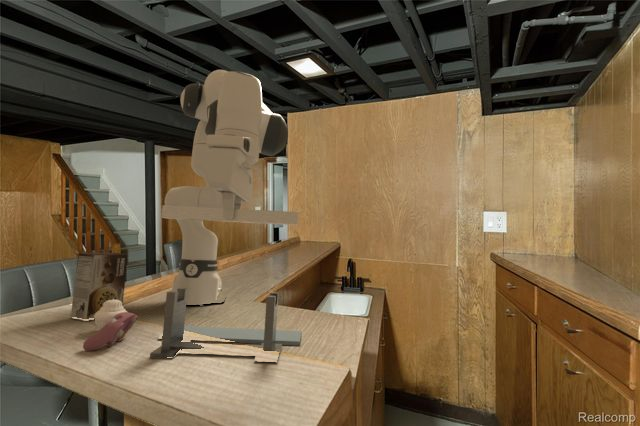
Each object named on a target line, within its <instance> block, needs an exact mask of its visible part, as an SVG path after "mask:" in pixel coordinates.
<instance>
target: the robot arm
mask: <svg viewBox="0 0 640 426" xmlns="http://www.w3.org/2000/svg"><path fill="white" fill-rule="evenodd" d="M179 101H180V105H181V109H182V110H181V111H182V112H183V113H184V115H185V116H187V117H190V118H192V119H197V120H200V121H198V124H197V126H196V130H195V133H194V136H193V145H192V153H191V162H190V166H191V169H192V171H193V172H194V173H195V174H196V175H197V176H199V177H201V178H203V179H205V186H195V185H193V186H192V185H184V186H177V187H172V188H170V189H169V190H168V191H167V193H166V194H165V197H164V205H170V206H189V207H209V208H223V209H224V210H223V218H225V219H234V215H235V210H234V209H243V204H245V203H246V204H250V203H252V200H253V192H254V191H253V188H254V187H253V186H254V185H253V184H254V172H253V170H252V166H253V165H256V164H258V162H259V161H260V160H259V159H260V154H261V155H264V156H268V157H273V156H276V155H277V154H279V153H280V152H282V151H283V150H284V149H285V147H286V145H287V142H288V138H289V127H288V125H287V123H286V121H285V119H284V118H283V116H282V115H281V114H279V113H275V112H274V113H273V112H272V111H271V109H270V108H269V107H268V106H267V105H266V104H265V103H264V102H263V92H262V85H261V81H260V80H259V79H258V78H257V77H256V76H254V75H252V74H249V73H246V72H243V71H238V70H236V71H235V70H234V71H233V70H230V71H227V70H225V69H216V70H213V71H212V72H210V73H209V74H208V75H207V76H206V78H205V81H204V84H202V83H200V81H196V83H190V84H188V85H186V86H185V87H184V89H183V91H182V92H181V95H180V100H179ZM175 220H176V222H177V223H178V226H179V227H180V231H181V236H182V245H181V247H182V248H181V258H180V259H179V264H178V270H179V271H178V273H177V274H176V275H174V277H173V281H172V288H171V291H176V292H177V289H178V288H188V291H187V301H186V305H195V304H202V303H206V302H210V301H213V300H217V296H218V294H219V292H221V293H222V290H223V288H222V284H223V283H222V282H223V281H222V279H221V277H220V275H219V273H218V268H219V267H218V266H219V262H220V261H219V260H218V259H217V255H218V245H219V239H218V236H217V234H216V233H215V232H213V231H212V230H210V229H208V228H206V227H205V225H204V220H184V219H175Z"/></svg>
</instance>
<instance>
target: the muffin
mask: <svg viewBox="0 0 640 426" xmlns="http://www.w3.org/2000/svg"><path fill="white" fill-rule="evenodd" d="M122 312H127V310H126V309H125V308H124V306H122V302H121V301H120V300H114V299H112V300H108V301H106V302H104V303H103V307H101V308H100V310H99V311H97V312H96V313H95V315H94V319H95V320H94V323H95V325H96V327H97V329H98V331H99V330H100V329H102V328H103V327H104V326H105V325H106V324H107V323H108V322H109V321H110V320H112V319H113V317H114V316H115V315H116V314H118V313H122Z"/></svg>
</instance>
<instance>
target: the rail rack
mask: <svg viewBox="0 0 640 426" xmlns="http://www.w3.org/2000/svg"><path fill="white" fill-rule="evenodd" d="M187 291H188V288H178V289H177V292H176V291H172V290H169V291H166V295H165V309H164V315H163V316H164V318H163V327H162V333H163V336H162V340H161V345H160V346H159V347H157V348H155V349H154V350H153V351H151V352H150V353H149V358H150V359H165V358H167V357H174V356H175V355H176V353H177V352H178V351H179V350H180V349H181V350H182V349H201V348H204V347H202V346H201V345H198V344H195V343H194V344H193V343H192V342H193V341H191V342H181V341H182V340H183V334H184V326H185V321H186V311H187V306H186V301H187ZM265 301H266V303H265V319H264V329H265V331H264V343H262V344H250V343H244V344H245V345H249V346H253V347H258V348H263V350H264V351H277V352H282V350H283V345H282V344H275V340H276V330H277V325H278V324H277V323H278V322H277V321H278V306H279V292H277V291H276V292H274V291H271V292H269V295H267V296H266V300H265Z"/></svg>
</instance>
